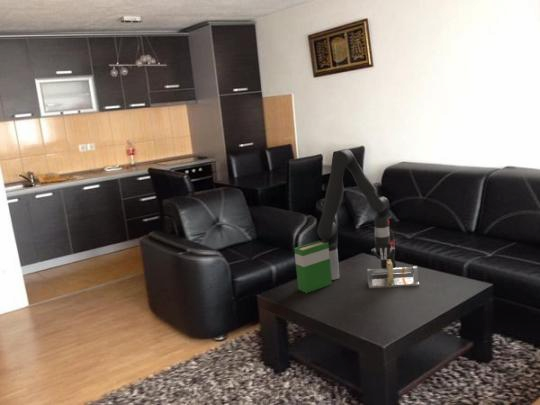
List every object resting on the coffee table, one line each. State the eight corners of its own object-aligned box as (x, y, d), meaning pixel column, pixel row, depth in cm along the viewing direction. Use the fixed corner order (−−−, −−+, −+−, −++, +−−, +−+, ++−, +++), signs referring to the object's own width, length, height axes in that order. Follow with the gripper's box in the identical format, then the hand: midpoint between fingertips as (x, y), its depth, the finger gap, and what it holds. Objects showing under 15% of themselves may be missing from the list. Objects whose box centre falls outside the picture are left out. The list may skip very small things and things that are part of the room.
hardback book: (323, 280, 287) (319, 240, 282) (331, 284, 281) (328, 242, 276) (298, 289, 278) (294, 248, 273) (306, 293, 272) (302, 250, 267)
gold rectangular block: (389, 283, 268) (388, 265, 266) (387, 276, 277) (386, 259, 275) (393, 283, 267) (392, 265, 265) (391, 276, 277) (390, 259, 275)
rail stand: (369, 288, 270) (368, 272, 268) (367, 281, 279) (366, 266, 278) (419, 285, 266) (418, 270, 264) (416, 278, 276) (415, 263, 274)
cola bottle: (378, 269, 295) (375, 220, 289) (391, 266, 297) (388, 217, 291) (386, 274, 287) (382, 223, 281) (399, 271, 289) (396, 220, 283)
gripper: (369, 237, 265) (372, 268, 268) (395, 235, 263) (397, 267, 266) (369, 233, 272) (371, 264, 276) (394, 231, 270) (395, 262, 274)
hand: (384, 265), depth 271 cm, fingers closed
